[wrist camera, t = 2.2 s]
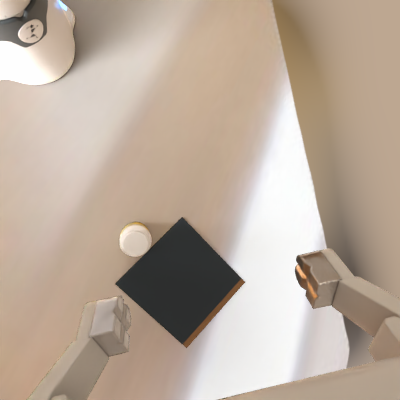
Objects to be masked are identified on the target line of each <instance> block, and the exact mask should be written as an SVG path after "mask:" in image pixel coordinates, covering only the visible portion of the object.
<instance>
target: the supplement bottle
mask: <svg viewBox="0 0 400 400" xmlns="http://www.w3.org/2000/svg"><path fill="white" fill-rule="evenodd" d="M151 243H152V238H151V234H150V232H149V230H148V229H147V227H146V226H145V225H143V224H142V223H139V222H132V223H129V224H127V225H126V226H125V227H124V228H123V230H122V232H121V235H120V238H119V246H120V249H121V250H122V252H123V253H124V254H126V255H128V256H130V257H139V256H142V255H144V254H145V253H146V252H147V251H148V250H149V248H150V246H151Z"/></svg>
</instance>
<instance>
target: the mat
mask: <svg viewBox="0 0 400 400" xmlns="http://www.w3.org/2000/svg"><path fill="white" fill-rule="evenodd" d="M244 283H245V282H244V281H243V280H242V279H241V278H240V277H239V276H238V274H237V273H236V272H235V271H234V270H233V269H232V268H231V267H230V266H229V265H228V264H227V263H226V262H225V261H224V260H223V259H222V258H221V257H220V256H219V255H218V254H217V253H216V252H215V251H214V250H213V249H212V248H211V247H210V245H209V244H208V243H207V242H206V241H205V240H204V239H203V238H202V237H201V236H200V235H199V234H198V233H197V232H196V231H195V230H194V229H193V228H192V227H191V226H190V225H189V224H188V223H187V222H186V221H185V220H184V219H183V218H181V219H180V220H179V221H178V222H177V223H176V224H175V225H174V226H173V227H172V228H171V229H170V230H169V231H168V232H167V233H166V234H165V235H164V236H163V237H162V238H161V239H160V240H159V241H158V242H157V243H156V244H155V245H154V246H153V247H152V248H151V249H150V250H149V251H148V252H147V253H146V254H145V255H144V256H143V257H142V258H141V259H140V260H139V261H138V262H137V263H136V264H135V265H134V266H133V267H132V268H131V269H130V270H129V271H128V272H127V273H126V274H125V275H124V276H123V277H122V278H121V279H120V280H119V281H118V282H117V283H116V285H117V286H118V287H119V288H120V289H122V290H123V291H124V292H125V293H126V294H127V295H128V296H129V297H130V298H132V299H133V300H134V301H135V302H136V303H137V304H138V305H139V306H140V307H142V308H143V309H144V310H145V311H146V312H147V313H148V314H149V315H150V316H152V317H153V318H154V319H155V320H156V321H157V322H158V323H159V324H161V325H162V326H163V327H164V328H165V329H166V330H167V331H168V332H169V333H171V334H172V335H173V336H174V337H175V338H176V339H177V340H178V341H179V342H181V343H182V344H183V345H184V346H185V347H186V348H187V347H188V346H189V345H190V344H191V342H192V341H193V340H194V339H195V338H196V337H197V336H198V335H199V333H200V332H201V331H202V330H203V329H204V328H205V327H206V326H207V324H208V323H209V322H210V321H211V320H212V319H213V318H214V317H215V315H216V314H217V313H218V312H219V311H220V310H221V309H222V307H223V306H224V305H225V304H226V303H227V302H228V301H229V300H230V298H231V297H232V296H233V295H234V294H235V293H236V292H237V291H238V289H239V288H240V287H241V286H242V285H243V284H244Z"/></svg>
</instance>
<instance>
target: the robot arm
mask: <svg viewBox="0 0 400 400" xmlns="http://www.w3.org/2000/svg"><path fill="white" fill-rule="evenodd" d="M74 25H75V16H74V14H73V12H72V10H71V9H70V8H68V7H67V6H66V5H65V4H63V3H62V2H61V1H60V0H0V80H5V79H8V80H13V81H16V82H19V83H23V84H29V85H41V84H47V83H50V82H53V81H55V80H57V79H59V78H60V77H62V76H63V75H64V74H65V73H66V72H67V71H68V70H69V68H70V67H71V65H72V63H73V60H74V56H75V43H74V38H73V29H74ZM296 261H297V263H298V265H297V266H296V267H295V274H296V278H297V280H298V283H299V284H300V286H301V287H302V288H303V289H305V290H306V297H307V299H308V301H309V302H310V304H311V306H312V308H313V309H315V308H320V307H325V306H330V305H332V307H334V308H335V309H336V310H338V311H339V312H340V313H342V314H343V315H344V316H346V317H347V318H349V319H350V320H351V321H353V322H354V323H355V324H356V325H358V326H359V327H360V328H362V329H363V330H365V331H366V332H367V333H368V334H370V335H371V336H372V337H374V339H373V341H372V342H371V344H370V346H369V349H368V351H369V352H370V354H371V355H372V357H373V359H374V360H375V362H372V363H368V364H363V365H359V366H355V367H351V368H347V369H343V370H338V371H334V372H330V373H326V374H322V375H318V376H314V377H309V378H305V379H301V380H297V381H293V382H289V383H284V384H280V385H276V386H272V387H268V388H264V389H260V390H255V391H251V392H247V393H243V394H239V395H235V396H231V397H226V398H222V399H218V400H400V298H398V297H396V296H394V295H393V294H391V293H389V292H387V291H385V290H383V289H381V288H379V287H377V286H375V285H373V284H372V283H370V282H368V281H366V280H364V279H362V278H360V277H354V276H353V274H352V273H351V272H350V271H349V269H348V268H347V267H346V266H345V264H344V263H343V262H342V261H341V260H340V258H339V257H338V256H337V255H336V253H335V252H334V251H333V250H332V249H331V248H328V249H324V250H320V251H314V252H310V253H306V254H302V255H298V256H297V259H296ZM130 326H131V315H130V310H129V307H128V306H127V305H126V304H124V299H123V297H122V296H116V297H111V298H106V299H102V300H96V301H92V302H87V303H86V304H85V306H84V308H83V312H82V316H81V320H80V324H79V328H78V332H77V336H76V340H75V341H74V342H71V344H70V345H69V346H68V348H67V349H66V350H65V351H64V353H63V354H62V355H61V356H60V358H59V359H58V360H57V362H56V363H55V364H54V365H53V367H52V368H51V369H50V371H49V372H48V373H47V374H46V376H45V377H44V378H43V379H42V381H41V382H40V383H39V385H38V386H37V387H36V388H35V390H34V391H33V392H32V394H31V395H30V396H29V397H28V399H27V400H87V398H88V396H89V394H90V393H91V391H92V389H93V387H94V385H95V384H96V382H97V380H98V378H99V376H100V374H101V373H102V371H103V369H104V367H105V365H106V363H107V362H108V360H109V357H110V356H114V355H118V354H122V353H125V352H128V351H129V339H130V336H129V334H128V332H127V330H128V329H129V327H130Z"/></svg>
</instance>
